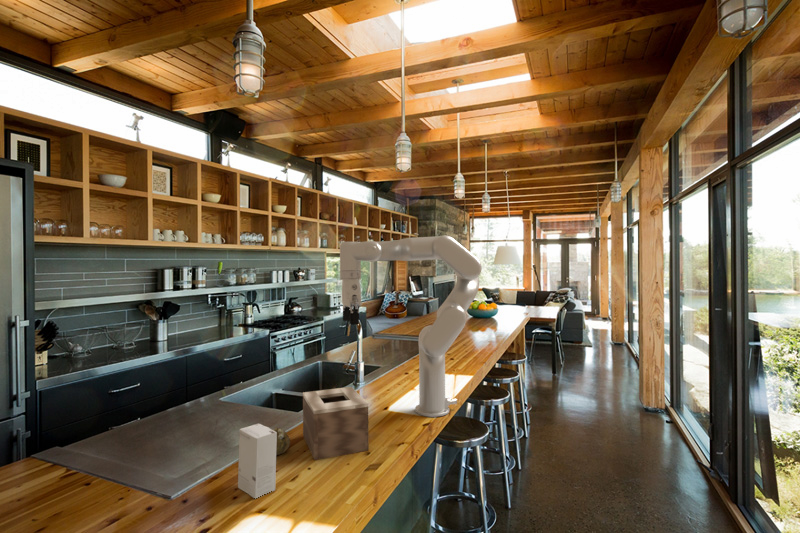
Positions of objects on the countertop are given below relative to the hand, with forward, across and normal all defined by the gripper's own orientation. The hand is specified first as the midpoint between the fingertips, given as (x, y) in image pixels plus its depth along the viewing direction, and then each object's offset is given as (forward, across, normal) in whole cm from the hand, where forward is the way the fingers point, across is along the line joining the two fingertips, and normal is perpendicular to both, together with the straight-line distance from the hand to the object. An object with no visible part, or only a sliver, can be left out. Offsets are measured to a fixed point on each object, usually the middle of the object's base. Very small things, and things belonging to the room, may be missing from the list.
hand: (350, 322), depth 160 cm
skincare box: (+34, -42, +36) cm, 65 cm away
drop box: (+33, -23, +12) cm, 42 cm away
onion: (+34, -23, +29) cm, 50 cm away
